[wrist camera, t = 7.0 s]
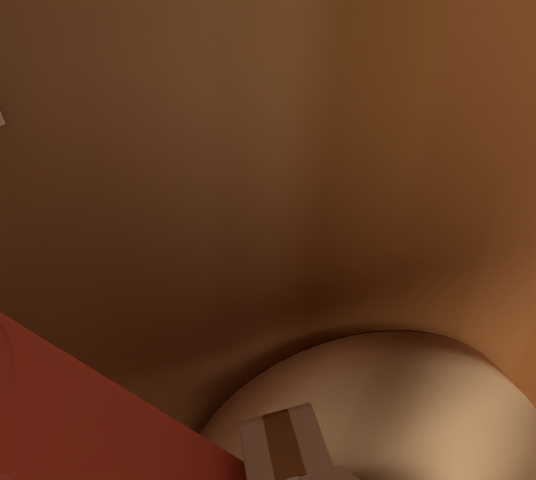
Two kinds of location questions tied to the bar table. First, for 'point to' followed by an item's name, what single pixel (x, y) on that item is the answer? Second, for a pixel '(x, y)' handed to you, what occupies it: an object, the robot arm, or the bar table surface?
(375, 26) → the bar table surface
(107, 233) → the bar table surface
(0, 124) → the pad
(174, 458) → the pink rod with bead
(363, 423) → the round tan disc
